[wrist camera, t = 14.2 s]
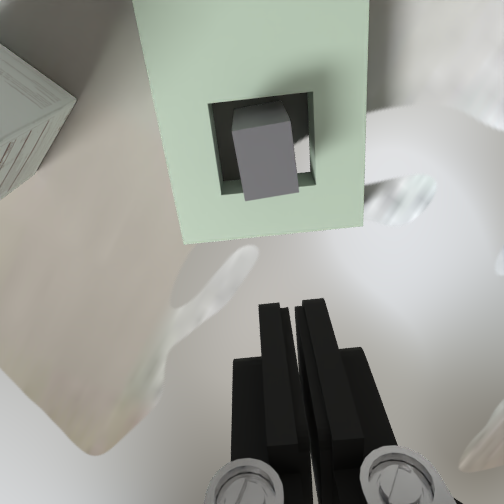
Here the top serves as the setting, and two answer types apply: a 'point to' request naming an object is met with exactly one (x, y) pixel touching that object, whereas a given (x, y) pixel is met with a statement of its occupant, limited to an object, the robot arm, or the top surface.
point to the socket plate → (255, 86)
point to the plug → (265, 150)
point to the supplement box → (27, 118)
